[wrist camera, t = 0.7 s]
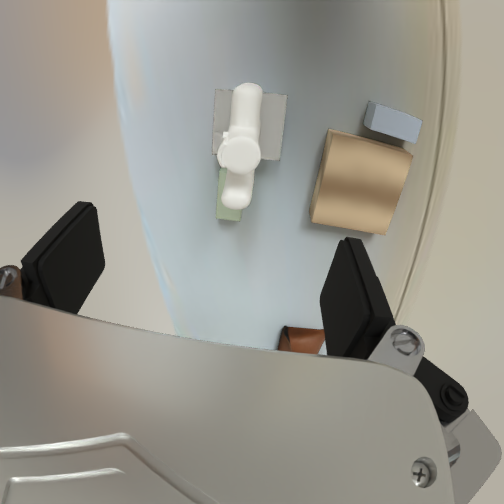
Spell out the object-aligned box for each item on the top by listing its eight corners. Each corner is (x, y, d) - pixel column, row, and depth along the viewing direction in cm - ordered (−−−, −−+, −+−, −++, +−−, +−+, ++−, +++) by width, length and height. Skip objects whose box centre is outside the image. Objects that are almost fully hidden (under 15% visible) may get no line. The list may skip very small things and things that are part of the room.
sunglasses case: (307, 381, 61) (293, 403, 57) (280, 366, 64) (264, 387, 60) (329, 328, 51) (313, 353, 46) (294, 311, 54) (276, 334, 49)
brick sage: (222, 163, 36) (219, 172, 34) (247, 166, 36) (245, 175, 34) (219, 207, 39) (215, 218, 37) (242, 210, 39) (240, 221, 37)
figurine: (286, 83, 30) (299, 94, 17) (277, 160, 35) (281, 221, 23) (221, 77, 30) (187, 86, 17) (216, 154, 35) (186, 212, 23)
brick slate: (362, 123, 32) (370, 129, 29) (368, 100, 30) (376, 104, 28) (405, 137, 32) (415, 144, 30) (411, 115, 30) (422, 120, 28)
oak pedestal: (328, 128, 32) (333, 134, 30) (403, 148, 33) (413, 156, 30) (308, 210, 39) (311, 222, 36) (378, 223, 39) (385, 235, 37)
